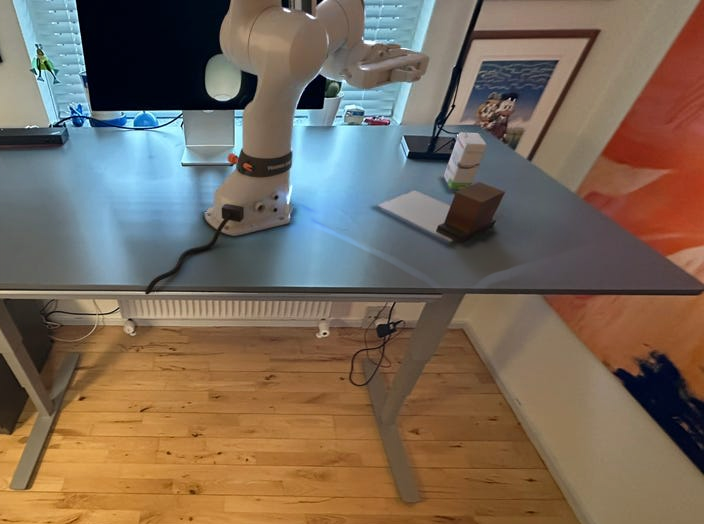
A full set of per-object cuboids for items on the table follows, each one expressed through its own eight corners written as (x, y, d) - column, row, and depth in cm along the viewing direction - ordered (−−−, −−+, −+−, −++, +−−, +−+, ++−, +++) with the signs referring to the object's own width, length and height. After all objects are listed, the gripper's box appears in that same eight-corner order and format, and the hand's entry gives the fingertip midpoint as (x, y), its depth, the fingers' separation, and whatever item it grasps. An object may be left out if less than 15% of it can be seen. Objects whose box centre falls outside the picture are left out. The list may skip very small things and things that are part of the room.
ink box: (468, 193, 105) (488, 144, 97) (448, 192, 106) (466, 144, 98) (461, 179, 111) (479, 131, 103) (441, 178, 112) (458, 131, 103)
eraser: (459, 243, 88) (475, 205, 82) (435, 231, 92) (449, 194, 85) (493, 226, 92) (511, 189, 86) (469, 215, 96) (485, 179, 90)
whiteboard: (448, 245, 89) (450, 241, 89) (375, 208, 102) (376, 205, 101) (487, 226, 94) (489, 222, 93) (413, 193, 107) (414, 189, 106)
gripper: (336, 56, 89) (386, 67, 81) (401, 42, 96) (452, 51, 88) (332, 89, 94) (378, 104, 86) (394, 74, 101) (442, 85, 93)
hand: (416, 77), depth 87 cm, fingers closed
